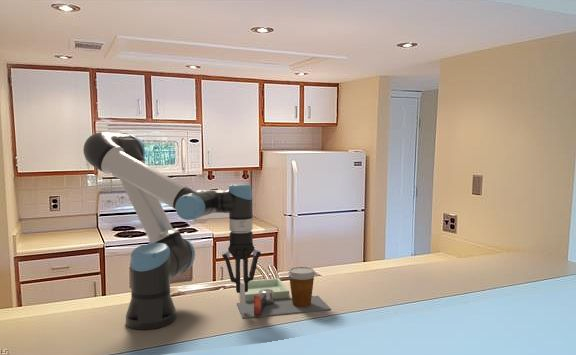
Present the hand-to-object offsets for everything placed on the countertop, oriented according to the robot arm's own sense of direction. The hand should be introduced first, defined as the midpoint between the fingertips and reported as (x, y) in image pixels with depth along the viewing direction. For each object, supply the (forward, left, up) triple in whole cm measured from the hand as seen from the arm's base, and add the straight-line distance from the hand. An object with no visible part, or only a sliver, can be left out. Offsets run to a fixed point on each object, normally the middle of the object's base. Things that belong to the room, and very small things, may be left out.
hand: (242, 301), depth 139 cm
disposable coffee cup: (+21, +1, -3) cm, 21 cm away
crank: (+6, -2, -3) cm, 7 cm away
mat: (+14, +1, -4) cm, 15 cm away
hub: (+16, +6, -4) cm, 18 cm away
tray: (+10, +16, -4) cm, 20 cm away
